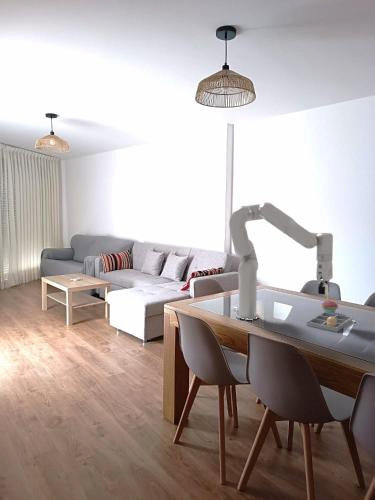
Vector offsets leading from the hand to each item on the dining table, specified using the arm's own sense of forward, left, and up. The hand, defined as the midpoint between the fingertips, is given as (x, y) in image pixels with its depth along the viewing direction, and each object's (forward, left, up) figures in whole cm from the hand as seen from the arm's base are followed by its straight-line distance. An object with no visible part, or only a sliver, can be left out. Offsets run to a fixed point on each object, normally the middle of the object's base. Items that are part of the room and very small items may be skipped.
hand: (323, 292), depth 186 cm
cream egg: (0, 0, -1) cm, 1 cm away
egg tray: (+4, 0, -16) cm, 16 cm away
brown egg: (+7, -7, -15) cm, 18 cm away
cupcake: (-3, +18, -16) cm, 24 cm away
